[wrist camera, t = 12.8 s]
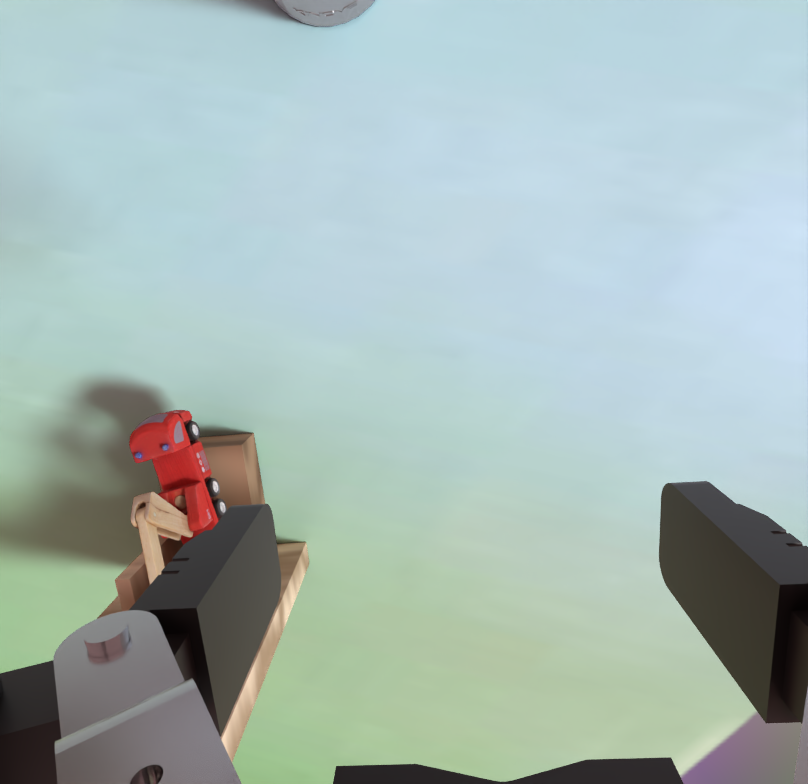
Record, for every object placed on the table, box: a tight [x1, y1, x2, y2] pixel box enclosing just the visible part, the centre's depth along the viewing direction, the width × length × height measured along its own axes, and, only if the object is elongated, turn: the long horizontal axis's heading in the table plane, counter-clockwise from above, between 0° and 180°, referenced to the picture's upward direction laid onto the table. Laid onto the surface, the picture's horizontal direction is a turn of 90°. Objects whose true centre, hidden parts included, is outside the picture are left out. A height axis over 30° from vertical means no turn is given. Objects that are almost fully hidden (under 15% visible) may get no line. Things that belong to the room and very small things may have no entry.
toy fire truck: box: [129, 410, 227, 584], centre depth 37 cm, size 3×14×10 cm, turn 17°
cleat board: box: [97, 433, 309, 762], centre depth 37 cm, size 12×13×20 cm
